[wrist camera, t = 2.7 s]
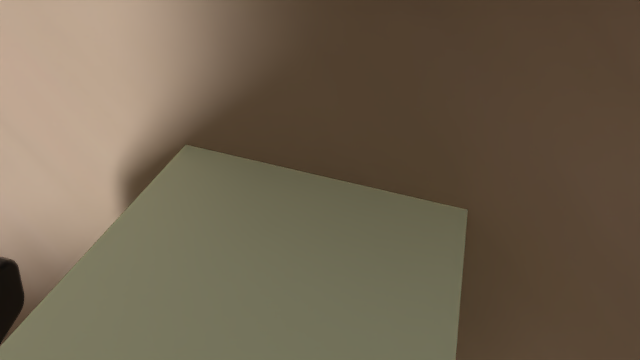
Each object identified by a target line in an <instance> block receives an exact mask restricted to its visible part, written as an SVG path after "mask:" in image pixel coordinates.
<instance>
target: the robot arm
mask: <svg viewBox="0 0 640 360" xmlns="http://www.w3.org/2000/svg"><path fill="white" fill-rule="evenodd" d="M23 304H24V291H23V286H22V282H21V277H20V272H19V268H18V265H17V263H16V262H15V261H14V260H11V259H8V258H4V257H0V344H1V342H2V341H3V339H4V337H5V336H6V334H7V333H8V331H9V329H10V328H11V326H12V325H13V323H14V321H15V320H16V318H17V317H18V315H19V313H20V312H21V310H22V307H23Z"/></svg>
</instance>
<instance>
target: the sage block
mask: <svg viewBox="0 0 640 360" xmlns="http://www.w3.org/2000/svg"><path fill="white" fill-rule="evenodd" d="M467 214H468V210H467V209H462V208H458V207H454V206H450V205H445V204H441V203H437V202H432V201H428V200H424V199H419V198H415V197H411V196H406V195H402V194H398V193H393V192H389V191H385V190H380V189H376V188H372V187H367V186H363V185H359V184H354V183H350V182H346V181H341V180H337V179H333V178H328V177H324V176H320V175H315V174H311V173H307V172H302V171H298V170H294V169H289V168H285V167H281V166H277V165H272V164H268V163H264V162H259V161H255V160H251V159H246V158H242V157H238V156H233V155H229V154H225V153H220V152H216V151H212V150H207V149H203V148H199V147H194V146H190V145H185V146H184V147H183V148H182V149H181V150H180V151H179V152H178V153H177V155H176V156H175V157H174V158H173V159H172V160H171V161H170V162H169V163H168V164H167V165H166V166H165V168H164V169H163V170H162V171H161V172H160V173H159V174H158V175H157V176H156V177H155V178H154V180H153V181H152V182H151V183H150V184H149V185H148V186H147V187H146V188H145V189H144V190H143V191H142V193H141V194H140V195H139V196H138V197H137V198H136V199H135V200H134V201H133V202H132V203H131V205H130V206H129V207H128V208H127V209H126V210H125V211H124V212H123V213H122V214H121V215H120V217H119V218H118V219H117V220H116V221H115V222H114V223H113V224H112V225H111V226H110V227H109V228H108V230H107V231H106V232H105V233H104V234H103V235H102V236H101V237H100V238H99V239H98V240H97V242H96V243H95V244H94V245H93V246H92V247H91V248H90V249H89V250H88V251H87V252H86V253H85V255H84V256H83V257H82V258H81V259H80V260H79V261H78V262H77V263H76V264H75V265H74V267H73V268H72V269H71V270H70V271H69V272H68V273H67V274H66V275H65V276H64V277H63V279H62V280H61V281H60V282H59V283H58V284H57V285H56V286H55V287H54V288H53V289H52V290H51V292H50V293H49V294H48V295H47V296H46V297H45V298H44V299H43V300H42V301H41V302H40V304H39V305H38V306H37V307H36V308H35V309H34V310H33V311H32V312H31V313H30V314H29V315H28V317H27V318H26V319H25V320H24V321H23V322H22V323H21V324H20V325H19V326H18V327H17V329H16V330H15V331H14V332H13V333H12V334H11V335H10V336H9V337H8V338H7V339H6V340H5V342H4V343H3V344H2V345H1V346H0V360H456V348H457V336H458V323H459V311H460V299H461V287H462V275H463V262H464V250H465V238H466V226H467Z"/></svg>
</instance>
